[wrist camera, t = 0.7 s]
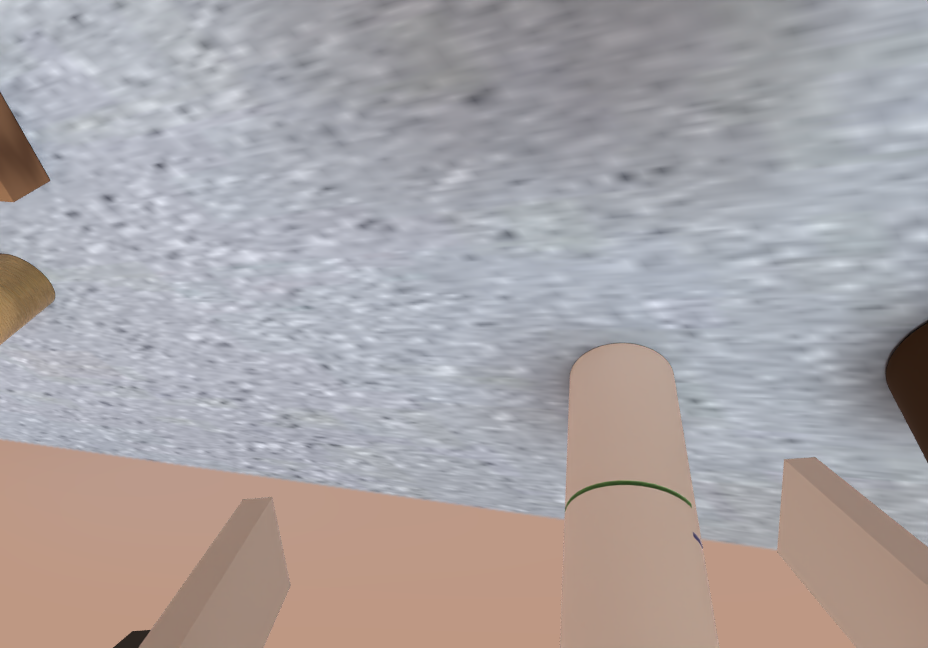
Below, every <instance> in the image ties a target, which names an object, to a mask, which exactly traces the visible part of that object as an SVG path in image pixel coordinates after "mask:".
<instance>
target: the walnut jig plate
mask: <svg viewBox="0 0 928 648" xmlns="http://www.w3.org/2000/svg"><path fill="white" fill-rule="evenodd" d="M49 181H50V179H49V178H48V176H47V174H46V172H45V171H44V169H43V167H42V165H41V164H40V162H39V160H38V158H37V157H36V155H35V153H34V151H33V150H32V148H31V146H30V144H29V143H28V141H27V139H26V137H25V136H24V134H23V132H22V130H21V128H20V127H19V125H18V123H17V121H16V120H15V118H14V116H13V114H12V113H11V111H10V109H9V107H8V106H7V104H6V102H5V100H4V99H3V97H2V95H1V93H0V201H5V202H15V201H17V200H18V199H20V198H22V197H23V196H25V195H27V194H29V193H30V192H32V191H34V190H35V189H37V188H39V187H40V186H42V185H44V184H46V183H47V182H49Z"/></svg>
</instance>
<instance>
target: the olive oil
mask: <svg viewBox="0 0 928 648" xmlns="http://www.w3.org/2000/svg"><path fill="white" fill-rule="evenodd" d="M886 379H887V384H888V386H889V389H890V391H891V393H892V395H893V397H894V399H895V401H896V403H897V405H898V407H899V408H900V410H901V412H902V414H903V416H904V418H905V420H906V422H907V424H908V426H909V428H910V429H911V431H912V433H913V435H914V437H915V439H916V441H917V443H918V445H919V447H920V449H921V451H922V452H923V454H924V456H925V458H926V460H927V462H928V323H927V324H925V325H923V326H922V327H920V328H919V329H917V330H916V331H915V332H913V333H912V334H911V335H910V336H908V337H907V338H906V339H905V340H904V341H903V342H902V343H901V344H900V345H899V346H898V348H897V349H896V350H895V351H894V353H893V354H892V356H891V358H890V360H889V362H888V365H887V370H886Z"/></svg>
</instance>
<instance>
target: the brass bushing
mask: <svg viewBox="0 0 928 648" xmlns="http://www.w3.org/2000/svg"><path fill="white" fill-rule="evenodd" d="M54 299H55V292H54V289H53V287H52V285H51V283H50V282H49V280H48V279H47V278H46V277H45V276H44V275H43V274H42V273H41V272H40V271H39V270H38V269H36V268H35V267H34V266H32V265H31V264H29V263H28V262H26V261H24V260H22V259H20V258H18V257H15V256H12V255H7V254H0V345H1V344H2V343H3V342H4V341H6V340H7V339H8V338H9V337H11V336H12V335H13V334H14V333H15V332H17V331H18V330H19V329H20V328H22V327H23V326H24V325H25V324H26V323H28V322H29V321H30V320H31V319H33V318H34V317H35V316H36V315H37V314H39V313H40V312H41V311H42V310H44V309H45V308H46V307H47V306H48V305H50V304H51V303H52V302H53V301H54Z"/></svg>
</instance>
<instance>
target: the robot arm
mask: <svg viewBox="0 0 928 648" xmlns="http://www.w3.org/2000/svg"><path fill="white" fill-rule="evenodd" d="M777 553H778V554H779V555H780V556H781V557H782V558H783V560H784V561H785V562H786V563H787V565H788V566H789V567H790V568H791V570H792V571H793V572H794V573H795V574H796V576H797V577H798V578H799V579H800V580H801V582H802V583H803V584H804V585H805V586H806V588H808V590H809V591H810V592H811V594H812V595H813V596H814V597H815V598H816V599H817V601H818V602H819V603H820V604H821V606H822V607H823V608H824V609H825V610H826V612H827V613H828V614H829V615H830V616H831V618H832V619H833V620H834V621H835V623H836V624H837V625H838V626H839V627H840V629H841V630H842V631H843V632H844V633H845V635H846V636H847V637H848V638H849V639H850V641H851V642H852V643H853V644H854V645H855V647H856V648H928V547H927V546H926V545H925V544H923V543H922V542H921V541H920V540H918V539H917V538H916V537H915V536H913V535H912V534H911V533H910V532H908V531H907V530H906V529H905V528H903V527H902V526H901V525H899V524H898V523H897V522H896V521H894V520H893V519H892V518H891V517H889V516H888V515H887V514H886V513H884V512H883V511H882V510H881V509H879V508H878V507H877V506H876V505H874V504H873V503H872V502H871V501H869V500H868V499H867V498H866V497H864V496H863V495H862V494H861V493H859V492H858V491H857V490H856V489H854V488H853V487H852V486H851V485H849V484H848V483H847V482H846V481H844V480H843V479H842V478H841V477H839V476H838V475H837V474H836V473H834V472H833V471H832V470H831V469H829V468H828V467H827V466H826V465H824V464H823V463H822V462H821V461H819V460H818V459H817V458H816V457H810V458H796V459H784V469H783V482H782V496H781V509H780V522H779V535H778V548H777ZM289 588H290V581H289V577H288V571H287V567H286V562H285V557H284V552H283V547H282V542H281V538H280V532H279V528H278V523H277V518H276V513H275V509H274V504H273V498H272V497H268V498H255V499H243V500H242V502H241V504H240V505H239V506H238V508H237V509H236V510H235V512H234V513H233V515H232V516H231V518H230V519H229V520H228V522H227V523H226V525H225V526H224V527H223V529H222V530H221V532H220V533H219V534H218V536H217V537H216V539H215V540H214V541H213V543H212V544H211V546H210V547H209V549H208V550H207V551H206V553H205V554H204V556H203V557H202V559H201V560H200V561H199V563H198V564H197V566H196V567H195V569H194V570H193V571H192V573H191V574H190V576H189V577H188V578H187V580H186V581H185V583H184V584H183V586H182V587H181V588H180V590H179V591H178V593H177V594H176V596H175V597H174V598H173V600H172V601H171V602H170V604H169V605H168V607H167V608H166V609H165V611H164V612H163V614H162V615H161V617H160V618H159V619H158V621H157V622H156V624H155V625H154V627H153V628H152V629H151V630H144V631H132V632H131V633H130V634H129V635H128V636H126V637H125V638H124V639H123V640H122V641H120V642H119V643H118V644H117V645H116V646H115V647H113V648H263V647H264V645H265V643H266V640H267V638H268V636H269V633H270V631H271V629H272V627H273V624H274V622H275V619H276V617H277V615H278V613H279V610H280V608H281V606H282V604H283V602H284V599H285V597H286V595H287V592H288V590H289Z"/></svg>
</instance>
